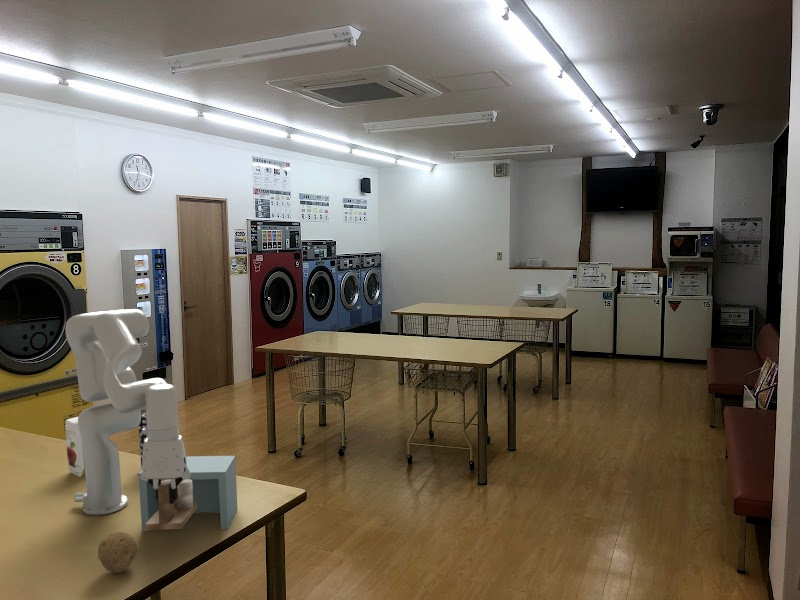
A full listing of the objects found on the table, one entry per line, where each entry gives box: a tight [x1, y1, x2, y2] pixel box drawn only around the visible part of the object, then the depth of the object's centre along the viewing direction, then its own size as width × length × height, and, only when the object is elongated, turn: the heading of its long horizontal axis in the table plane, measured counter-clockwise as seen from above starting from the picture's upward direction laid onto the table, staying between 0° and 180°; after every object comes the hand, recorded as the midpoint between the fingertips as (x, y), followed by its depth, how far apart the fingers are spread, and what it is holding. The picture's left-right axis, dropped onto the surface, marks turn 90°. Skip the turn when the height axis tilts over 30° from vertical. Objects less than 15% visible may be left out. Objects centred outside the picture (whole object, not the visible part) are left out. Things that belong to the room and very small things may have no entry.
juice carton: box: [64, 416, 85, 478], centre depth 216 cm, size 8×9×19 cm
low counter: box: [138, 455, 238, 532], centre depth 181 cm, size 24×12×17 cm, turn 92°
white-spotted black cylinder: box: [138, 411, 147, 471], centre depth 218 cm, size 8×8×20 cm
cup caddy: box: [145, 479, 197, 531], centre depth 165 cm, size 9×14×11 cm, turn 2°
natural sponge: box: [97, 531, 139, 574], centre depth 156 cm, size 9×9×10 cm
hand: (167, 501), depth 162 cm, fingers closed on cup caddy, 2 cm apart
